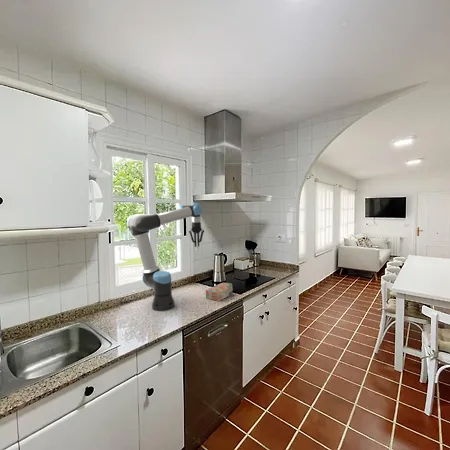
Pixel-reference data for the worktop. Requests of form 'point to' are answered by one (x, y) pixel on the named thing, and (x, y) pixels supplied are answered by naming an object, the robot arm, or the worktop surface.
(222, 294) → the stack of blocks
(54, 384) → the worktop surface
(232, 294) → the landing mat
